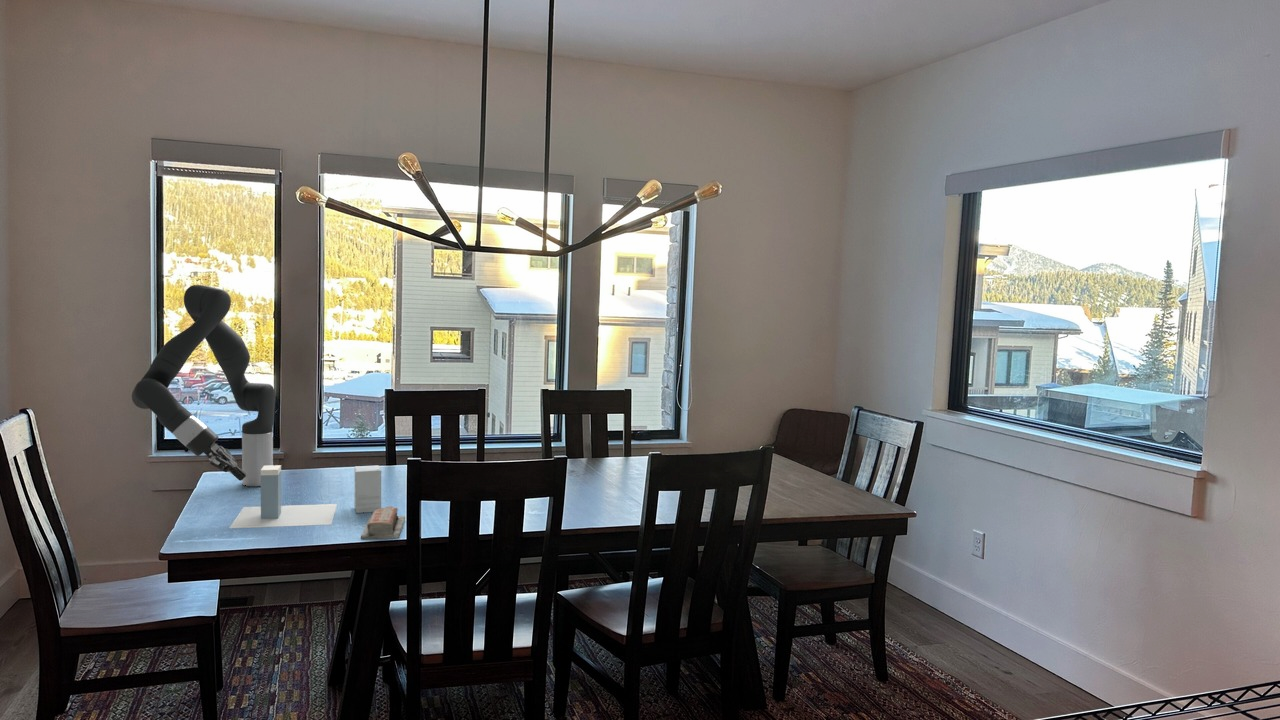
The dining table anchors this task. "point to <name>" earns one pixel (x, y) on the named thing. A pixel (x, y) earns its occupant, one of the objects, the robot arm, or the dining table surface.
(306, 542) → the dining table surface
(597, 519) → the dining table surface
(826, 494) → the dining table surface
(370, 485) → the supplement box
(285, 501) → the dining table surface
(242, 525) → the mat
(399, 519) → the packaged product
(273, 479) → the block
